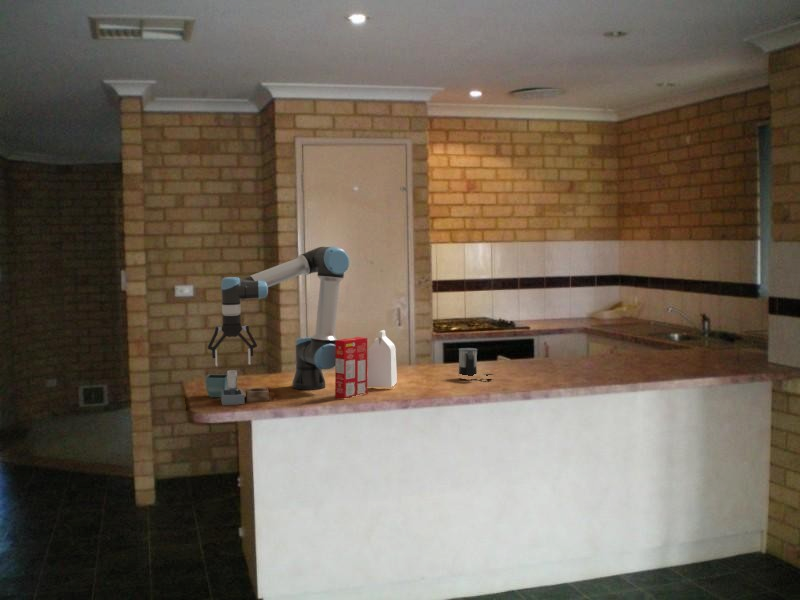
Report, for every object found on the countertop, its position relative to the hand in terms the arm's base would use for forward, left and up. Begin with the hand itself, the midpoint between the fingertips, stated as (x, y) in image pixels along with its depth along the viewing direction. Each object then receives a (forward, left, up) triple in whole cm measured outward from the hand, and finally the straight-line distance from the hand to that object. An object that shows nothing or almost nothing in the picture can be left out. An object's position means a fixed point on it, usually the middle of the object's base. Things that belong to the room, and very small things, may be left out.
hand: (233, 365), depth 354 cm
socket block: (-10, -3, -16) cm, 19 cm away
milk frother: (-118, -28, -16) cm, 122 cm away
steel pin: (0, 0, -15) cm, 15 cm away
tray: (0, 0, -16) cm, 16 cm away
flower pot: (+6, -13, -16) cm, 21 cm away
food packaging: (-51, -1, -16) cm, 53 cm away
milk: (-69, -19, -16) cm, 73 cm away
